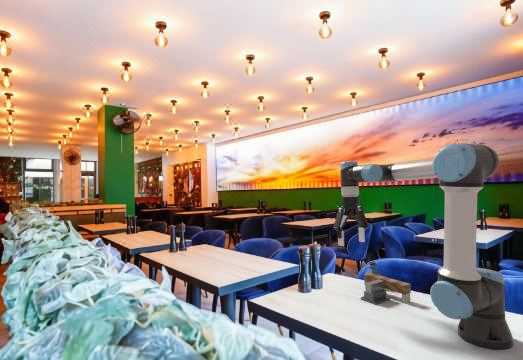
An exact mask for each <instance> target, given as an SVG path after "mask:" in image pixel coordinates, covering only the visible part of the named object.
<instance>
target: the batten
mask: <svg viewBox="0 0 523 360" xmlns="http://www.w3.org/2000/svg"><path fill="white" fill-rule="evenodd" d="M363 277H364V281H363V282H364V284H365V283H367V282H371V281H374V280H378V279H379V280H383V281H384V290H389V291H392V292H393V293H398V294H401V295H402V294H404V295H406V294H409V293H410V294H412V291H411V290H412V289H411V287H412V285H411V283H409V282H405V281H402V280H399V279H394V278H390V277H387V276H384V275H382V276H380V275H376V274H372V273H367V274H364V273H363Z"/></svg>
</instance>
